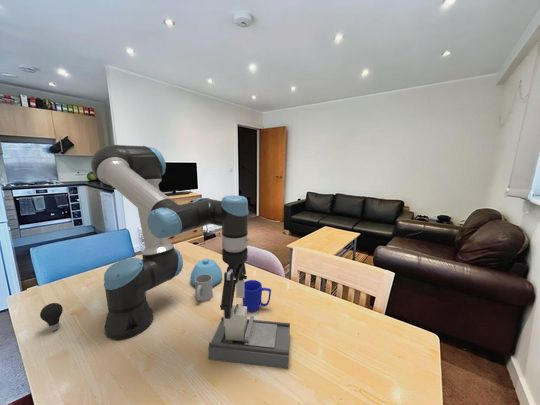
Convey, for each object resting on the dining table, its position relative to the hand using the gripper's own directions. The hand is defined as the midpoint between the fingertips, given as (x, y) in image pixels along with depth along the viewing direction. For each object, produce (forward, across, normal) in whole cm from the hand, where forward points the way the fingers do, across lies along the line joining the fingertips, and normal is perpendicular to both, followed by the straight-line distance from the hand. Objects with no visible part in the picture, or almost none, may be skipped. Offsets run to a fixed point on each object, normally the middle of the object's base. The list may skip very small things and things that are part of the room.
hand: (235, 310), depth 72 cm
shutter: (+8, 0, -9) cm, 12 cm away
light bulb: (+14, -2, +64) cm, 66 cm away
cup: (+13, +22, +20) cm, 32 cm away
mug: (+13, +19, -4) cm, 23 cm away
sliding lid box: (+12, 0, -6) cm, 14 cm away
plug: (+10, 0, -1) cm, 10 cm away
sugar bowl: (+14, +36, +24) cm, 45 cm away
